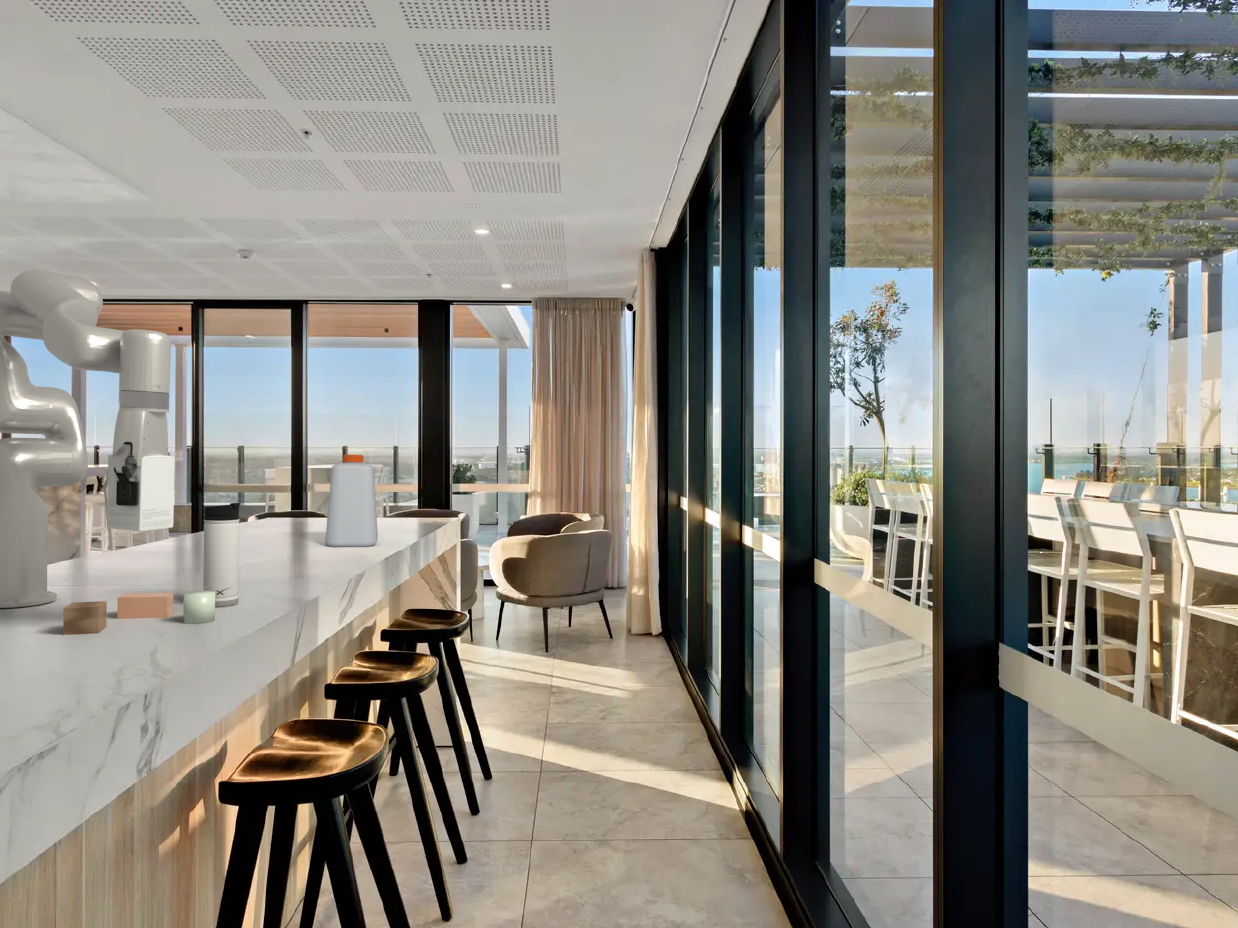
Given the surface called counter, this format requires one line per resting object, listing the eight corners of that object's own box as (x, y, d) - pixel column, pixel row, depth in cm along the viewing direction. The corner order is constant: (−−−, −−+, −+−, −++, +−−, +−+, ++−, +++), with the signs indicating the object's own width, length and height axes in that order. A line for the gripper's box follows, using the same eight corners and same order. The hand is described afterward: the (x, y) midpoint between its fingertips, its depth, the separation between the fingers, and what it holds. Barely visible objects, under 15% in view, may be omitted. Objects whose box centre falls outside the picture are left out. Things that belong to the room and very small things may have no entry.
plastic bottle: (329, 541, 262) (330, 453, 262) (378, 541, 266) (379, 454, 265) (323, 547, 248) (325, 454, 247) (376, 547, 251) (377, 455, 251)
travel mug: (225, 608, 157) (227, 504, 157) (195, 606, 159) (196, 502, 158) (246, 602, 163) (248, 501, 163) (217, 600, 165) (218, 500, 164)
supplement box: (174, 527, 144) (177, 455, 144) (138, 532, 137) (141, 456, 136) (141, 524, 146) (143, 453, 146) (104, 528, 139) (106, 453, 139)
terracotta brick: (117, 619, 147) (117, 597, 146) (125, 615, 150) (125, 593, 150) (167, 618, 148) (167, 596, 148) (173, 613, 152) (173, 592, 152)
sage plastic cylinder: (178, 624, 144) (178, 595, 143) (190, 617, 149) (191, 590, 148) (207, 624, 144) (208, 595, 144) (219, 618, 149) (219, 590, 149)
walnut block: (63, 635, 134) (63, 608, 134) (72, 628, 139) (72, 602, 139) (98, 633, 136) (98, 606, 136) (106, 627, 140) (106, 601, 140)
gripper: (146, 403, 149) (144, 498, 150) (92, 400, 132) (90, 506, 133) (189, 405, 150) (186, 499, 150) (141, 402, 132) (138, 508, 133)
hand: (141, 502), depth 141 cm, fingers closed on supplement box, 9 cm apart
